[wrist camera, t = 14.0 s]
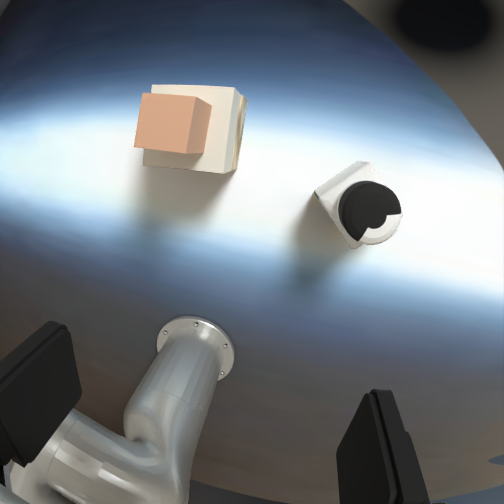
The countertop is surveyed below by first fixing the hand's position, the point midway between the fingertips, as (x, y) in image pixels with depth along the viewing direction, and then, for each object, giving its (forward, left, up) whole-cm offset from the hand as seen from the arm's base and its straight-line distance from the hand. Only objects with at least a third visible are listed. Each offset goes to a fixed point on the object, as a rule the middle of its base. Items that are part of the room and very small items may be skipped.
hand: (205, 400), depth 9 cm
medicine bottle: (+3, -10, -34) cm, 36 cm away
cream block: (+9, +10, -30) cm, 33 cm away
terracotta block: (+9, +10, -26) cm, 29 cm away
